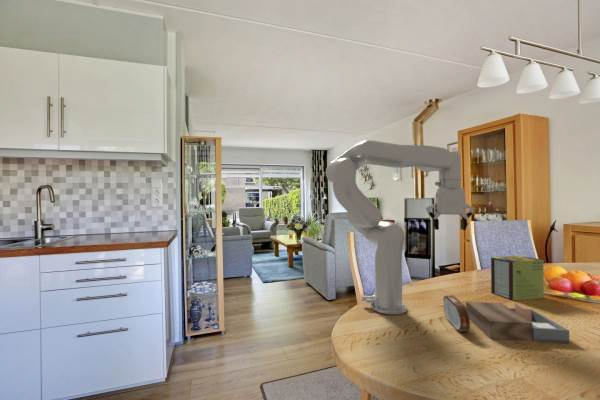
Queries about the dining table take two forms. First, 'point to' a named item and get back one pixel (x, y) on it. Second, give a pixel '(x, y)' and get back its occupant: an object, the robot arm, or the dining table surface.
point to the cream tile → (542, 325)
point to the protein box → (517, 277)
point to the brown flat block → (499, 321)
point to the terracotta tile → (523, 311)
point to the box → (547, 330)
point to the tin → (456, 313)
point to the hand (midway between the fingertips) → (449, 229)
